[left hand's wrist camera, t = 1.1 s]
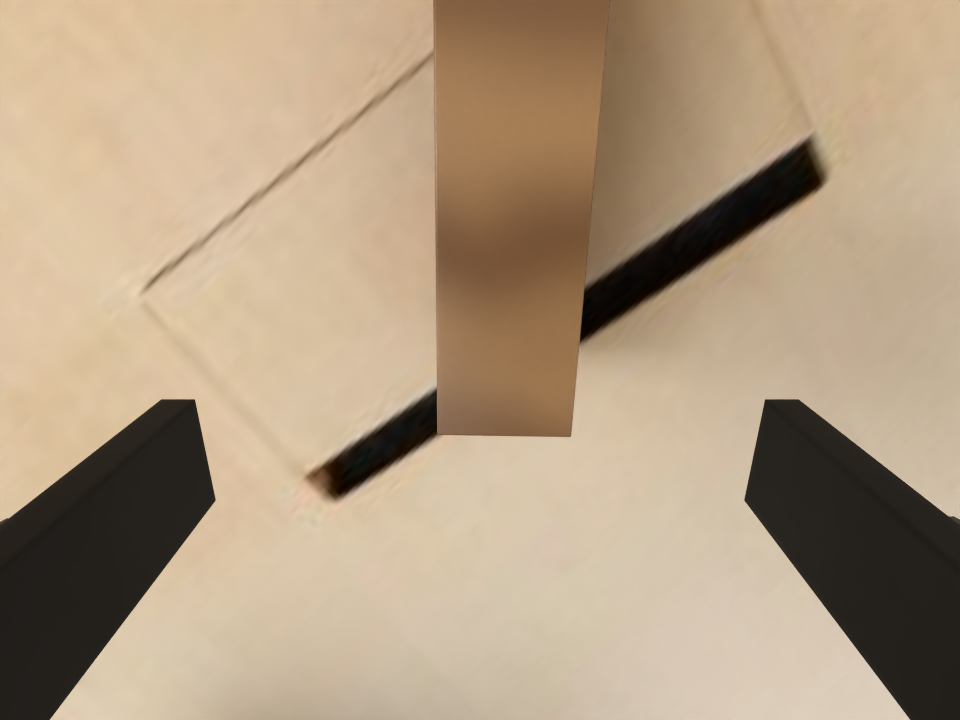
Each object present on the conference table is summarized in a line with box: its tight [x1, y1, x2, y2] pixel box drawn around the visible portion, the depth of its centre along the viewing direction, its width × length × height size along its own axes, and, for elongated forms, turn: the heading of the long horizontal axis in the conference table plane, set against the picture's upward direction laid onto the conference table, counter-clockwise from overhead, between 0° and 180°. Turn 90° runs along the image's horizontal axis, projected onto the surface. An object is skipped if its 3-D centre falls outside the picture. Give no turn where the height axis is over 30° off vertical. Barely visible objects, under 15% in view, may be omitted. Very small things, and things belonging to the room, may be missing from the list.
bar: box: [434, 0, 610, 437], centre depth 20 cm, size 28×5×9 cm, turn 179°
